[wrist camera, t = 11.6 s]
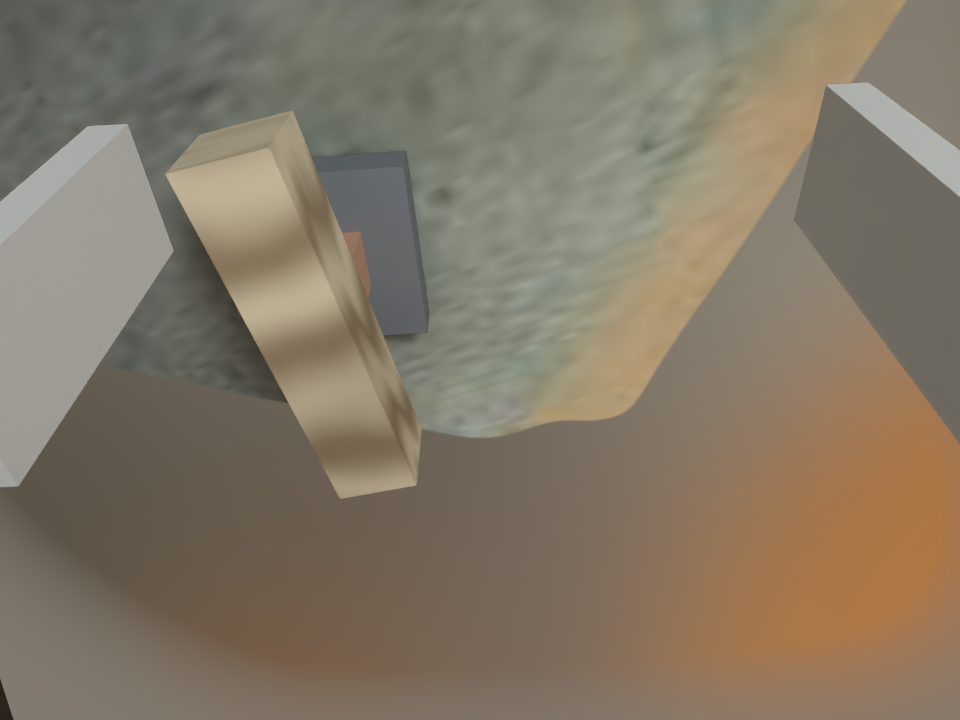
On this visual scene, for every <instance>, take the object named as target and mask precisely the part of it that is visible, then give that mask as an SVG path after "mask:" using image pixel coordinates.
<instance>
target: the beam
mask: <svg viewBox="0 0 960 720" xmlns="http://www.w3.org/2000/svg"><path fill="white" fill-rule="evenodd" d="M165 175H166V177H167V178H168V180H169V182H170V184H171V186H172V188H173V190H174V191H175V193H176V195H177V197H178V199H179V201H180V203H181V204H182V206H183V208H184V210H185V212H186V214H187V216H188V217H189V219H190V221H191V223H192V225H193V227H194V229H195V230H196V232H197V234H198V236H199V238H200V240H201V242H202V243H203V245H204V247H205V249H206V251H207V253H208V255H209V256H210V258H211V260H212V262H213V264H214V266H215V268H216V269H217V271H218V273H219V275H220V277H221V279H222V281H223V282H224V284H225V286H226V288H227V290H228V292H229V293H230V295H231V297H232V299H233V301H234V303H235V305H236V306H237V308H238V310H239V312H240V314H241V316H242V318H243V319H244V321H245V323H246V325H247V327H248V329H249V331H250V332H251V334H252V336H253V338H254V340H255V342H256V344H257V345H258V347H259V349H260V351H261V353H262V355H263V357H264V358H265V360H266V362H267V364H268V366H269V368H270V370H271V371H272V373H273V375H274V377H275V379H276V381H277V383H278V384H279V386H280V388H281V390H282V392H283V394H284V396H285V397H286V399H287V401H288V403H289V405H290V407H291V408H292V410H293V412H294V414H295V416H296V418H297V420H298V422H299V423H300V425H301V427H302V429H303V431H304V432H305V435H306V436H307V438H308V440H309V442H310V444H311V446H312V447H313V449H314V451H315V453H316V455H317V457H318V459H319V460H320V462H321V464H322V466H323V468H324V470H325V472H326V473H327V475H328V477H329V479H330V481H331V483H332V484H333V486H334V488H335V490H336V492H337V494H338V496H339V497H340V499H342V498H347V497H353V496H358V495H364V494H370V493H376V492H381V491H387V490H392V489H398V488H404V487H409V486H415V485H417V475H418V463H419V451H420V440H421V428H420V425H419V423H418V420H417V418H416V415H415V413H414V410H413V408H412V405H411V403H410V400H409V398H408V395H407V393H406V390H405V388H404V386H403V383H402V381H401V378H400V376H399V373H398V371H397V368H396V366H395V363H394V361H393V358H392V356H391V353H390V351H389V348H388V346H387V343H386V341H385V338H384V336H383V333H382V331H381V329H380V326H379V324H378V321H377V319H376V316H375V314H374V311H373V309H372V306H371V304H370V301H369V299H368V296H367V294H366V291H365V289H364V286H363V284H362V281H361V279H360V276H359V274H358V272H357V269H356V267H355V264H354V262H353V259H352V257H351V254H350V252H349V249H348V247H347V244H346V242H345V239H344V237H343V234H342V232H341V229H340V227H339V224H338V222H337V219H336V217H335V215H334V212H333V210H332V207H331V205H330V202H329V200H328V197H327V195H326V192H325V190H324V187H323V185H322V182H321V180H320V177H319V175H318V172H317V170H316V167H315V165H314V163H313V160H312V158H311V155H310V153H309V150H308V148H307V145H306V143H305V140H304V138H303V135H302V133H301V130H300V128H299V125H298V123H297V120H296V118H295V115H294V113H293V110H292V111H288V112H284V113H281V114H277V115H273V116H269V117H265V118H261V119H258V120H254V121H250V122H246V123H242V124H239V125H235V126H231V127H227V128H223V129H219V130H216V131H212V132H208V133H204V134H200V135H199V136H198V137H197V138H196V139H195V141H194V142H193V143H192V144H191V145H190V146H189V147H188V149H187V150H186V151H185V152H184V153H183V154H182V155H181V157H180V158H179V159H178V160H177V161H176V162H175V164H174V165H173V166H172V167H171V168H170V169H169V170H168V172H167V173H166V174H165Z"/></svg>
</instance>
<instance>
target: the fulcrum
mask: <svg viewBox="0 0 960 720" xmlns="http://www.w3.org/2000/svg"><path fill="white" fill-rule="evenodd" d="M312 160H313V163H314V165H315V167H316V170H317V172H318V175H319V177H320V180H321V182H322V185H323V187H324V190H325V192H326V195H327V197H328V200H329V202H330V205H331V207H332V210H333V212H334V215H335V217H336V219H337V222H338V224H339V227H340V229H341V232H342V234H343V237H344V239H345V242H346V244H347V247H348V249H349V252H350V254H351V257H352V259H353V262H354V264H355V267H356V269H357V272H358V274H359V276H360V279H361V281H362V284H363V286H364V289H365V291H366V294H367V296H368V299H369V301H370V304H371V306H372V309H373V311H374V314H375V316H376V319H377V321H378V324H379V326H380V329H381V331H382V333H383V336H386V335H401V334H417V333H427V332H428V321H429V307H428V300H427V293H426V286H425V279H424V272H423V265H422V258H421V251H420V244H419V237H418V230H417V223H416V216H415V209H414V202H413V195H412V188H411V181H410V174H409V167H408V160H407V152H406V151H396V152H383V153H370V154H357V155H344V156H330V157H317V158H312Z"/></svg>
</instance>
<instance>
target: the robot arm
mask: <svg viewBox="0 0 960 720" xmlns="http://www.w3.org/2000/svg"><path fill="white" fill-rule="evenodd" d="M794 221H795V222H796V224H797V225H798V226H799V227H800V229H801V230H802V232H803V233H804V234H805V236H806V237H807V238H808V240H809V241H810V242H811V244H812V245H813V247H814V248H815V249H816V251H817V252H818V253H819V255H820V256H821V257H822V259H823V260H824V261H825V262H826V264H827V265H828V267H829V268H830V269H831V271H832V272H833V273H834V275H835V276H836V278H837V279H838V280H839V282H840V283H841V284H842V286H843V287H844V288H845V290H846V291H847V292H848V294H849V295H850V296H851V297H852V299H853V300H854V302H855V303H856V305H857V306H858V307H859V309H860V310H861V311H862V313H863V314H864V315H865V317H866V318H867V319H868V321H869V322H870V323H871V325H872V326H873V327H874V329H875V330H876V331H877V333H878V334H879V335H880V337H881V338H882V340H883V341H884V342H885V344H886V345H887V346H888V348H889V349H890V350H891V352H892V353H893V354H894V356H895V357H896V358H897V360H898V361H899V362H900V364H901V365H902V366H903V368H904V369H905V371H906V372H907V373H908V375H909V376H910V377H911V379H912V380H913V381H914V383H915V384H916V385H917V387H918V388H919V389H920V391H921V392H922V394H923V395H924V396H925V398H926V399H927V400H928V402H929V403H930V404H931V406H932V407H933V408H934V410H935V411H936V412H937V414H938V415H939V416H940V418H941V419H942V420H943V422H944V423H945V425H946V426H947V427H948V429H949V430H950V431H951V433H952V434H953V435H954V437H955V438H956V439H957V441H958V442H959V444H960V150H958V149H957V148H955V147H954V146H953V145H952V144H950V143H949V142H948V141H946V140H945V139H944V138H942V137H941V136H939V135H938V134H937V133H935V132H934V131H933V130H931V129H930V128H929V127H927V126H926V125H925V124H923V123H922V122H921V121H919V120H918V119H917V118H915V117H914V116H912V115H911V114H910V113H909V112H907V111H906V110H904V109H903V108H902V107H900V106H899V105H898V104H896V103H895V102H894V101H892V100H891V99H890V98H888V97H887V96H886V95H884V94H883V93H881V92H880V91H879V90H878V89H876V88H875V87H873V86H872V85H871V84H869V83H855V84H837V85H826V88H825V93H824V97H823V101H822V105H821V109H820V113H819V118H818V122H817V126H816V130H815V134H814V138H813V143H812V147H811V151H810V155H809V159H808V163H807V167H806V172H805V176H804V180H803V184H802V188H801V193H800V197H799V201H798V205H797V209H796V214H795V217H794ZM172 253H173V248H172V245H171V242H170V240H169V237H168V234H167V231H166V229H165V226H164V223H163V220H162V218H161V215H160V212H159V210H158V207H157V204H156V201H155V199H154V196H153V193H152V190H151V188H150V185H149V182H148V179H147V177H146V174H145V171H144V168H143V166H142V163H141V160H140V157H139V155H138V152H137V149H136V146H135V144H134V141H133V138H132V135H131V133H130V130H129V127H128V124H120V125H102V126H88V127H86V128H85V129H84V130H83V131H82V132H81V133H79V134H78V135H77V136H76V137H75V138H74V139H73V140H71V141H70V142H69V143H68V144H67V145H66V146H64V147H63V148H62V149H61V150H60V151H59V152H57V153H56V154H55V155H54V156H53V157H52V158H50V159H49V160H48V161H47V162H46V163H45V164H43V165H42V166H41V167H40V168H39V169H38V170H36V171H35V172H34V173H33V174H32V175H31V176H29V177H28V178H27V179H26V180H25V181H24V182H22V183H21V184H20V185H19V186H18V187H17V188H16V189H14V190H13V191H12V192H11V193H10V194H9V195H7V196H6V197H5V198H4V199H3V200H2V201H0V487H12V486H13V487H15V486H19V485H20V483H21V481H22V480H23V479H24V477H25V476H26V474H27V472H28V471H29V469H30V468H31V466H32V465H33V463H34V462H35V460H36V459H37V457H38V456H39V454H40V453H41V451H42V450H43V448H44V447H45V445H46V444H47V442H48V441H49V439H50V438H51V436H52V435H53V433H54V431H55V430H56V429H57V427H58V426H59V424H60V422H61V421H62V419H63V418H64V416H65V415H66V413H67V412H68V410H69V408H70V407H71V406H72V404H73V403H74V401H75V400H76V398H77V397H78V395H79V394H80V392H81V391H82V389H83V388H84V386H85V385H86V383H87V382H88V380H89V378H90V377H91V375H92V374H93V372H94V371H95V369H96V368H97V366H98V365H99V363H100V362H101V360H102V359H103V357H104V356H105V354H106V353H107V351H108V350H109V348H110V347H111V345H112V344H113V342H114V341H115V339H116V338H117V336H118V335H119V333H120V332H121V330H122V329H123V327H124V326H125V324H126V323H127V321H128V319H129V318H130V316H131V315H132V313H133V312H134V310H135V309H136V307H137V306H138V304H139V303H140V301H141V300H142V298H143V297H144V295H145V294H146V292H147V291H148V289H149V288H150V286H151V285H152V283H153V282H154V280H155V279H156V277H157V276H158V274H159V273H160V271H161V269H162V268H163V266H164V265H165V263H166V262H167V260H168V259H169V257H170V256H171V254H172ZM0 720H13V717H12V714H11V711H10V708H9V705H8V702H7V699H6V696H5V693H4V689H3V687H2V683H1V680H0Z"/></svg>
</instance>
